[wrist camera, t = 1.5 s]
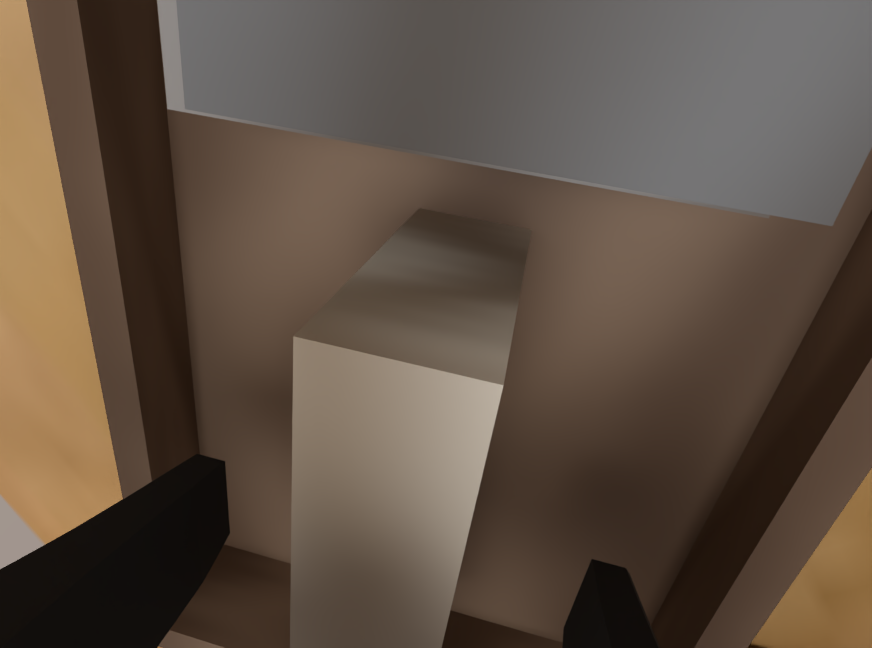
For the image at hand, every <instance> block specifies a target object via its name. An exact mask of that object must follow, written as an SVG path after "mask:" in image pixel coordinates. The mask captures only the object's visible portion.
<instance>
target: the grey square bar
mask: <svg viewBox="0 0 872 648" xmlns="http://www.w3.org/2000/svg"><path fill="white" fill-rule="evenodd" d="M157 4H158V15H159V25H160V36H161V46H162V57H163V67H164V78H165V88H166V99H167V109H170V110H175V111H181V112H186V113H192V114H197V115H203V116H208V117H214V118H219V119H225V120H230V121H236V122H241V123H247V124H252V125H258V126H263V127H269V128H274V129H280V130H285V131H291V132H296V133H302V134H307V135H313V136H318V137H324V138H329V139H335V140H340V141H346V142H351V143H357V144H362V145H368V146H373V147H379V148H384V149H390V150H395V151H401V152H406V153H412V154H417V155H423V156H428V157H434V158H439V159H445V160H450V161H456V162H461V163H467V164H472V165H478V166H483V167H489V168H494V169H500V170H505V171H511V172H516V173H522V174H527V175H533V176H538V177H544V178H549V179H555V180H560V181H566V182H571V183H577V184H582V185H588V186H593V187H599V188H604V189H610V190H615V191H621V192H626V193H632V194H637V195H643V196H648V197H654V198H659V199H665V200H670V201H676V202H681V203H687V204H692V205H698V206H703V207H709V208H714V209H720V210H725V211H731V212H736V213H742V214H747V215H753V216H758V217H764V218H769V216H770V215H772V216H778V217H784V218H789V219H795V220H800V221H806V222H811V223H817V224H822V225H828V226H833V224H834V222H835V220H836V218H837V216H838V214H839V212H840V210H841V208H842V206H843V204H844V202H845V200H846V198H847V196H848V194H849V192H850V190H851V188H852V186H853V184H854V182H855V180H856V178H857V176H858V174H859V172H860V170H861V168H862V166H863V164H864V162H865V160H866V158H867V156H868V154H869V152H870V150H871V148H872V0H157Z"/></svg>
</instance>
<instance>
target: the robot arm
mask: <svg viewBox="0 0 872 648" xmlns="http://www.w3.org/2000/svg"><path fill="white" fill-rule="evenodd" d="M229 534H230V525H229V510H228V496H227V481H226V467H225V461H223V460H219V459H215V458H211V457H208V456H204V455H200V454H196V455H194V456H192V457H191V458H189V459H187V460H186V461H184V462H182V463H181V464H179V465H178V466H176V467H174V468H173V469H171V470H169V471H168V472H166V473H165V474H163V475H161V476H160V477H158V478H156V479H155V480H153V481H152V482H150V483H148V484H147V485H145V486H144V487H142V488H140V489H139V490H137V491H136V492H134V493H132V494H131V495H129V496H127V497H126V498H124V499H123V500H121V501H119V502H118V503H116V504H114V505H113V506H111V507H109V508H108V509H106V510H104V511H103V512H101V513H99V514H98V515H96V516H94V517H93V518H91V519H89V520H88V521H86V522H84V523H83V524H81V525H79V526H78V527H76V528H74V529H72V530H71V531H69V532H67V533H65V534H64V535H62V536H60V537H58V538H56V539H55V540H53V541H51V542H49V543H47V544H46V545H44V546H42V547H40V548H38V549H37V550H35V551H33V552H31V553H29V554H28V555H26V556H24V557H22V558H21V559H19V560H17V561H15V562H13V563H11V564H9V565H8V566H6V567H4V568H2V569H0V648H157V647H158V646H159V644H160V643H161V641H162V640H163V639H164V637H165V636H166V634H167V633H168V632H169V630H170V629H171V627H172V626H173V625H174V623H175V622H176V620H177V619H178V617H179V616H180V615H181V613H182V612H183V610H184V609H185V607H186V606H187V605H188V603H189V602H190V600H191V599H192V598H193V596H194V595H195V593H196V592H197V590H198V589H199V587H200V586H201V584H202V583H203V581H204V580H205V578H206V576H207V574H208V572H209V571H210V569H211V567H212V565H213V564H214V562H215V560H216V558H217V556H218V555H219V553H220V551H221V549H222V547H223V545H224V543H225V542H226V540H227V538H228V536H229ZM562 648H660V646H659V643H658V641H657V639H656V636H655V634H654V632H653V630H652V627H651V625H650V622H649V620H648V618H647V615H646V613H645V610H644V608H643V606H642V603H641V601H640V598H639V596H638V593H637V591H636V588H635V586H634V583H633V581H632V578H631V575H630V573H629V572H628V570H627V569H626V568H624V567H621V566H617V565H613V564H609V563H606V562H602V561H598V560H594V559H591V562H590V564H589V567H588V569H587V571H586V574H585V576H584V579H583V581H582V584H581V586H580V589H579V591H578V594H577V596H576V598H575V601H574V603H573V606H572V608H571V611H570V613H569V616H568V618H567V621H566V623H565V625H564V629H563V645H562Z"/></svg>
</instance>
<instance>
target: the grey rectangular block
mask: <svg viewBox="0 0 872 648" xmlns="http://www.w3.org/2000/svg"><path fill="white" fill-rule="evenodd" d="M531 231H532V230H529V229H524V228H519V227H514V226H508V225H503V224H498V223H493V222H488V221H483V220H478V219H472V218H467V217H462V216H457V215H452V214H447V213H442V212H437V211H431V210H426V209H421V208H419V209H418V210H417V211H416V212H415V213H414V214H413V215H412V216H411V217H410V218H409V219H408V220H407V221H406V222H405V223H404V224H403V225H402V226H401V227H400V228H399V229H398V231H397V232H396V233H395V234H394V235H393V236H392V237H391V238H390V239H389V240H388V241H387V242H386V243H385V244H384V245H383V246H382V247H381V248H380V249H379V250H378V251H377V252H376V253H375V254H374V255H373V256H372V257H371V258H370V259H369V260H368V261H367V262H366V263H365V264H364V265H363V266H362V267H361V268H360V269H359V270H358V271H357V272H356V273H355V274H354V275H353V276H352V277H351V278H350V279H349V280H348V281H347V282H346V283H345V284H344V285H343V286H342V287H341V288H340V289H339V290H338V291H337V292H336V293H335V295H334V296H333V297H332V298H331V299H330V300H329V301H328V302H327V303H326V304H325V305H324V306H323V307H322V308H321V309H320V310H319V311H318V312H317V313H316V314H315V315H314V316H313V317H312V318H311V319H310V320H309V321H308V322H307V323H306V324H305V325H304V326H303V327H302V328H301V329H300V330H299V331H298V332H297V333H296V334H295V335H294V336H293V413H292V503H291V593H290V648H442V644H443V639H444V635H445V631H446V627H447V622H448V618H449V614H450V610H451V606H452V601H453V597H454V593H455V589H456V584H457V580H458V576H459V572H460V567H461V563H462V559H463V555H464V551H465V546H466V542H467V538H468V534H469V529H470V525H471V521H472V517H473V512H474V508H475V504H476V500H477V496H478V491H479V487H480V483H481V479H482V474H483V470H484V466H485V462H486V458H487V453H488V449H489V445H490V441H491V436H492V432H493V428H494V424H495V419H496V415H497V411H498V407H499V403H500V398H501V394H502V390H503V386H504V380H505V375H506V369H507V364H508V358H509V353H510V347H511V342H512V336H513V330H514V325H515V319H516V314H517V308H518V303H519V297H520V292H521V286H522V281H523V275H524V270H525V264H526V259H527V253H528V247H529V242H530V236H531Z"/></svg>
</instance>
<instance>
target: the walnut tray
mask: <svg viewBox="0 0 872 648" xmlns="http://www.w3.org/2000/svg"><path fill="white" fill-rule="evenodd" d="M26 2H27V7H28V12H29V17H30V22H31V27H32V32H33V38H34V43H35V48H36V53H37V58H38V63H39V69H40V74H41V79H42V84H43V89H44V94H45V99H46V105H47V110H48V115H49V120H50V125H51V130H52V136H53V141H54V146H55V151H56V156H57V161H58V166H59V172H60V177H61V182H62V187H63V192H64V197H65V202H66V208H67V213H68V218H69V223H70V228H71V233H72V239H73V244H74V249H75V254H76V259H77V264H78V269H79V275H80V280H81V285H82V290H83V295H84V300H85V306H86V311H87V316H88V321H89V326H90V331H91V336H92V342H93V347H94V352H95V357H96V362H97V367H98V373H99V378H100V383H101V388H102V393H103V398H104V403H105V409H106V414H107V419H108V424H109V429H110V434H111V440H112V445H113V450H114V455H115V460H116V465H117V470H118V476H119V481H120V486H121V491H122V496H123V499H124V498H126V497H127V496H129V495H131V494H132V493H134V492H136V491H137V490H139V489H140V488H142V487H144V486H145V485H147V484H148V483H150V482H152V481H153V480H155V479H156V478H158V477H160V476H161V475H163V474H165V473H166V472H168V471H169V470H171V469H173V468H174V467H176V466H178V465H179V464H181V463H182V462H184V461H186V460H187V459H189V458H191V457H192V456H194V455H196V454H200V455H204V456H208V457H211V458H215V459H219V460H223V461H225V467H226V481H227V496H228V510H229V525H230V534H229V536H228V538H227V540H226V542H225V543H224V545H223V547H222V549H221V551H220V553H219V555H218V556H217V558H216V560H215V562H214V564H213V565H212V567H211V569H210V571H209V572H208V574H207V576H206V578H205V580H204V581H203V583H202V584H201V586H200V587H199V589H198V590H197V592H196V593H195V595H194V596H193V598H192V599H191V600H190V602H189V603H188V605H187V606H186V607H185V609H184V610H183V612H182V613H181V615H180V616H179V617H178V619H177V620H176V622H175V623H174V625H173V626H172V627H171V629H170V630H169V632H168V633H167V634H166V636H165V637H164V639H163V640H162V641H161V643H160V644H159V647H163V648H290V593H291V503H292V413H293V336H294V335H295V334H296V333H297V332H298V331H299V330H300V329H301V328H302V327H303V326H304V325H305V324H306V323H307V322H308V321H309V320H310V319H311V318H312V317H313V316H314V315H315V314H316V313H317V312H318V311H319V310H320V309H321V308H322V307H323V306H324V305H325V304H326V303H327V302H328V301H329V300H330V299H331V298H332V297H333V296H334V295H335V293H336V292H337V291H338V290H339V289H340V288H341V287H342V286H343V285H344V284H345V283H346V282H347V281H348V280H349V279H350V278H351V277H352V276H353V275H354V274H355V273H356V272H357V271H358V270H359V269H360V268H361V267H362V266H363V265H364V264H365V263H366V262H367V261H368V260H369V259H370V258H371V257H372V256H373V255H374V254H375V253H376V252H377V251H378V250H379V249H380V248H381V247H382V246H383V245H384V244H385V243H386V242H387V241H388V240H389V239H390V238H391V237H392V236H393V235H394V234H395V233H396V232H397V231H398V229H399V228H400V227H401V226H402V225H403V224H404V223H405V222H406V221H407V220H408V219H409V218H410V217H411V216H412V215H413V214H414V213H415V212H416V211H417V210H418V209H419V208H421V209H426V210H431V211H437V212H442V213H447V214H452V215H457V216H462V217H467V218H472V219H478V220H483V221H488V222H493V223H498V224H503V225H508V226H514V227H519V228H524V229H529V230H532V231H531V236H530V242H529V247H528V253H527V259H526V264H525V270H524V275H523V281H522V286H521V292H520V297H519V303H518V308H517V314H516V319H515V325H514V330H513V336H512V342H511V347H510V353H509V358H508V364H507V369H506V375H505V380H504V386H503V390H502V394H501V398H500V403H499V407H498V411H497V415H496V419H495V424H494V428H493V432H492V436H491V441H490V445H489V449H488V453H487V458H486V462H485V466H484V470H483V474H482V479H481V483H480V487H479V491H478V496H477V500H476V504H475V508H474V512H473V517H472V521H471V525H470V529H469V534H468V538H467V542H466V546H465V551H464V555H463V559H462V563H461V567H460V572H459V576H458V580H457V584H456V589H455V593H454V597H453V601H452V606H451V610H450V614H449V618H448V622H447V627H446V631H445V635H444V639H443V644H442V648H562V645H563V629H564V625H565V623H566V621H567V618H568V616H569V613H570V611H571V608H572V606H573V603H574V601H575V598H576V596H577V594H578V591H579V589H580V586H581V584H582V581H583V579H584V576H585V574H586V571H587V569H588V567H589V564H590V562H591V559H594V560H598V561H602V562H606V563H609V564H613V565H617V566H621V567H624V568H626V569H627V570H628V572H629V573H630V575H631V578H632V581H633V583H634V586H635V588H636V591H637V593H638V596H639V598H640V601H641V603H642V606H643V608H644V610H645V613H646V615H647V618H648V620H649V622H650V625H651V627H652V630H653V632H654V634H655V636H656V639H657V641H658V643H659V646H660V648H748V646H749V645H750V643H751V642H752V640H753V639H754V638H755V636H756V635H757V633H758V632H759V630H760V629H761V627H762V626H763V624H764V623H765V622H766V620H767V619H768V617H769V616H770V614H771V613H772V611H773V610H774V609H775V607H776V606H777V604H778V603H779V601H780V600H781V598H782V597H783V596H784V594H785V593H786V591H787V590H788V588H789V587H790V585H791V584H792V583H793V581H794V580H795V578H796V577H797V575H798V574H799V572H800V571H801V570H802V568H803V567H804V565H805V564H806V562H807V561H808V559H809V558H810V557H811V555H812V554H813V552H814V551H815V549H816V548H817V546H818V545H819V543H820V542H821V541H822V539H823V538H824V536H825V535H826V533H827V532H828V530H829V529H830V528H831V526H832V525H833V523H834V522H835V520H836V519H837V517H838V516H839V515H840V513H841V512H842V510H843V509H844V507H845V506H846V504H847V503H848V502H849V500H850V499H851V497H852V496H853V494H854V493H855V491H856V490H857V489H858V487H859V486H860V484H861V483H862V481H863V480H864V478H865V477H866V476H867V474H868V473H869V471H870V470H871V468H872V148H871V150H870V152H869V154H868V156H867V158H866V160H865V162H864V164H863V166H862V168H861V170H860V172H859V174H858V176H857V178H856V180H855V182H854V184H853V186H852V188H851V190H850V192H849V194H848V196H847V198H846V200H845V202H844V204H843V206H842V208H841V210H840V212H839V214H838V216H837V218H836V220H835V222H834V224H833V226H828V225H822V224H817V223H811V222H806V221H800V220H795V219H789V218H784V217H778V216H772V215H770V216H769V218H764V217H758V216H753V215H747V214H742V213H736V212H731V211H725V210H720V209H714V208H709V207H703V206H698V205H692V204H687V203H681V202H676V201H670V200H665V199H659V198H654V197H648V196H643V195H637V194H632V193H626V192H621V191H615V190H610V189H604V188H599V187H593V186H588V185H582V184H577V183H571V182H566V181H560V180H555V179H549V178H544V177H538V176H533V175H527V174H522V173H516V172H511V171H505V170H500V169H494V168H489V167H483V166H478V165H472V164H467V163H461V162H456V161H450V160H445V159H439V158H434V157H428V156H423V155H417V154H412V153H406V152H401V151H395V150H390V149H384V148H379V147H373V146H368V145H362V144H357V143H351V142H346V141H340V140H335V139H329V138H324V137H318V136H313V135H307V134H302V133H296V132H291V131H285V130H280V129H274V128H269V127H263V126H258V125H252V124H247V123H241V122H236V121H230V120H225V119H219V118H214V117H208V116H203V115H197V114H192V113H186V112H181V111H175V110H170V109H167V99H166V88H165V78H164V67H163V57H162V46H161V36H160V25H159V15H158V4H157V0H26Z"/></svg>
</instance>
